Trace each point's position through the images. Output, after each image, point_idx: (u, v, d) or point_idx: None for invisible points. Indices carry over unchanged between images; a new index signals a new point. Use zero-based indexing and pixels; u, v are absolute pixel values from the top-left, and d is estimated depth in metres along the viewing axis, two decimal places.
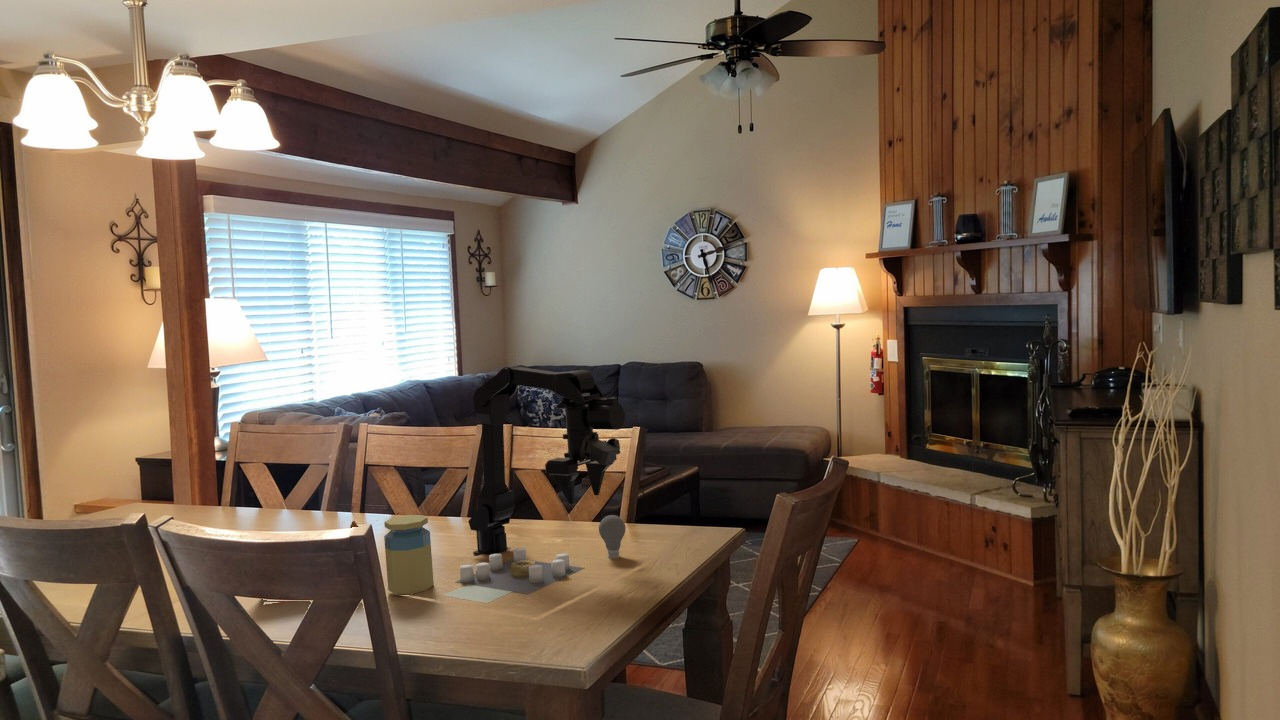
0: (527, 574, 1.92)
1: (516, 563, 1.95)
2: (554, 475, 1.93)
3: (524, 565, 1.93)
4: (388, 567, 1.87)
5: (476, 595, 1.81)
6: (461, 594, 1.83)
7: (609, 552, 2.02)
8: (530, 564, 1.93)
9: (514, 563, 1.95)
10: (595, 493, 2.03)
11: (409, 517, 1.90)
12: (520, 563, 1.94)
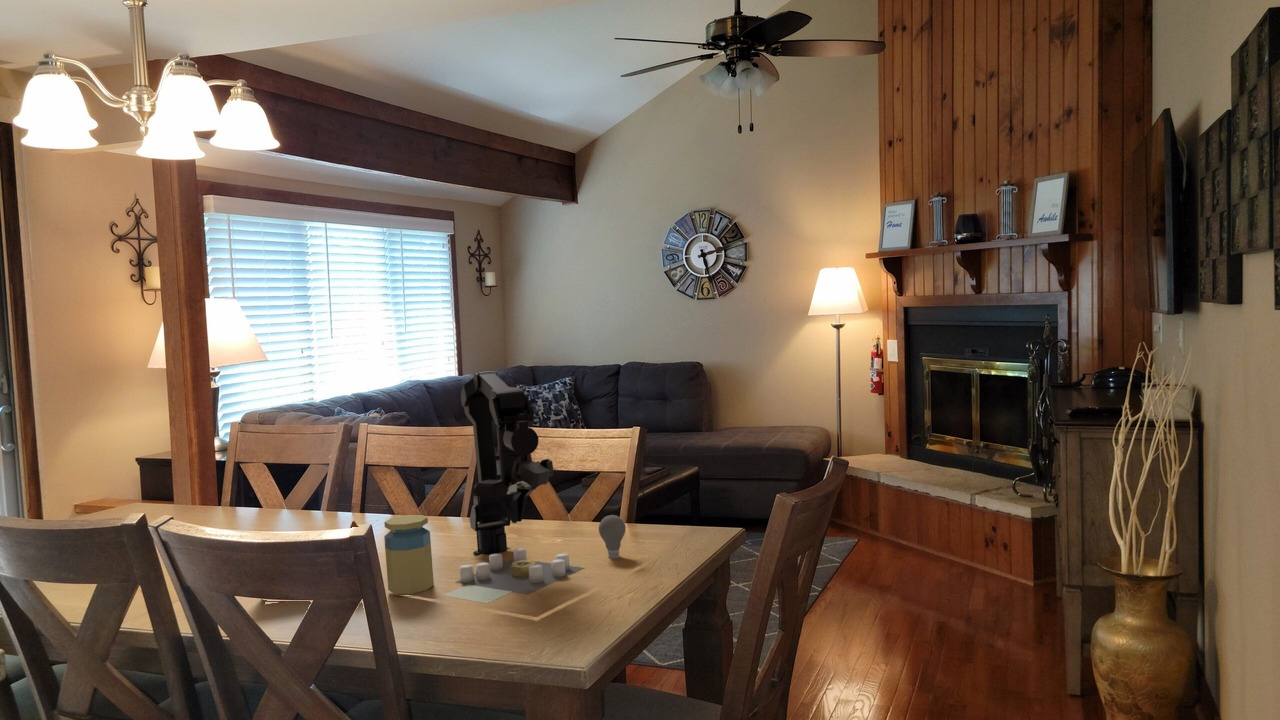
0: (527, 574, 1.92)
1: (516, 563, 1.95)
2: None
3: (524, 565, 1.93)
4: (388, 567, 1.87)
5: (476, 595, 1.81)
6: (461, 594, 1.83)
7: (609, 552, 2.02)
8: (530, 564, 1.93)
9: (514, 563, 1.95)
10: (517, 519, 1.93)
11: (409, 517, 1.90)
12: (520, 563, 1.94)
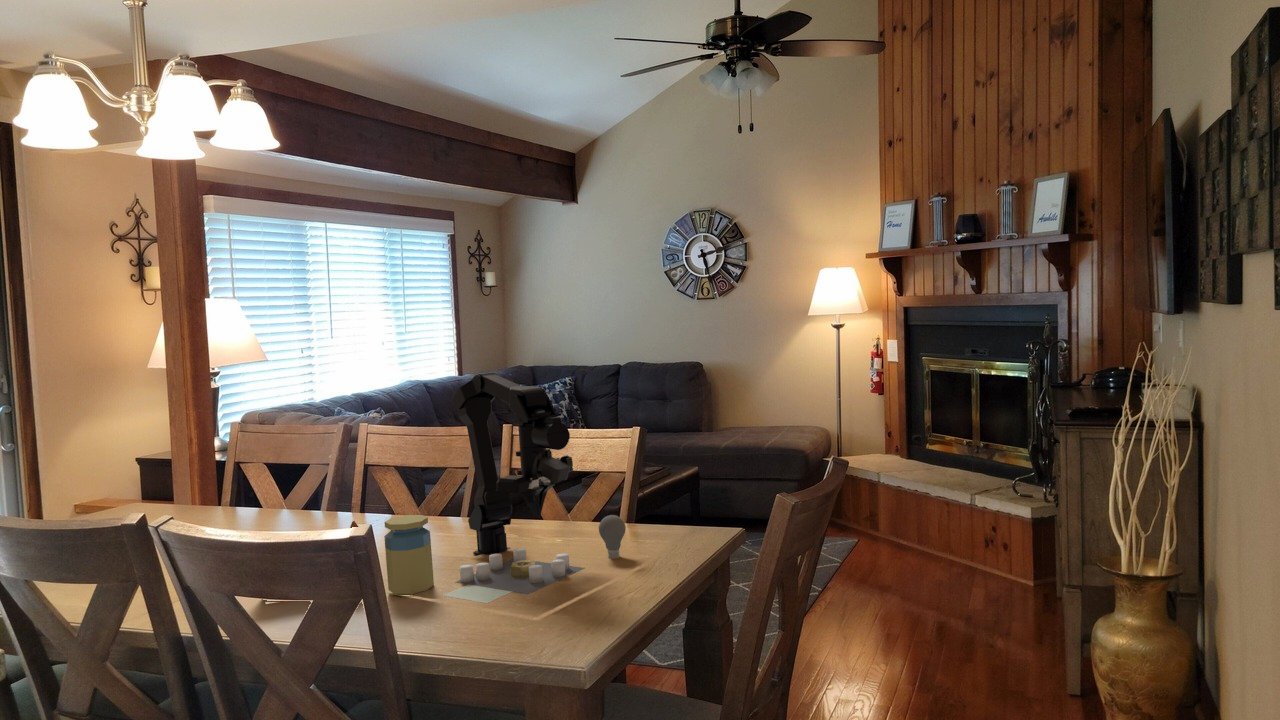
0: (527, 574, 1.92)
1: (516, 563, 1.95)
2: None
3: (524, 565, 1.93)
4: (388, 567, 1.87)
5: (476, 595, 1.81)
6: (461, 594, 1.83)
7: (609, 552, 2.02)
8: (530, 564, 1.93)
9: (514, 563, 1.95)
10: None
11: (409, 517, 1.90)
12: (520, 563, 1.94)
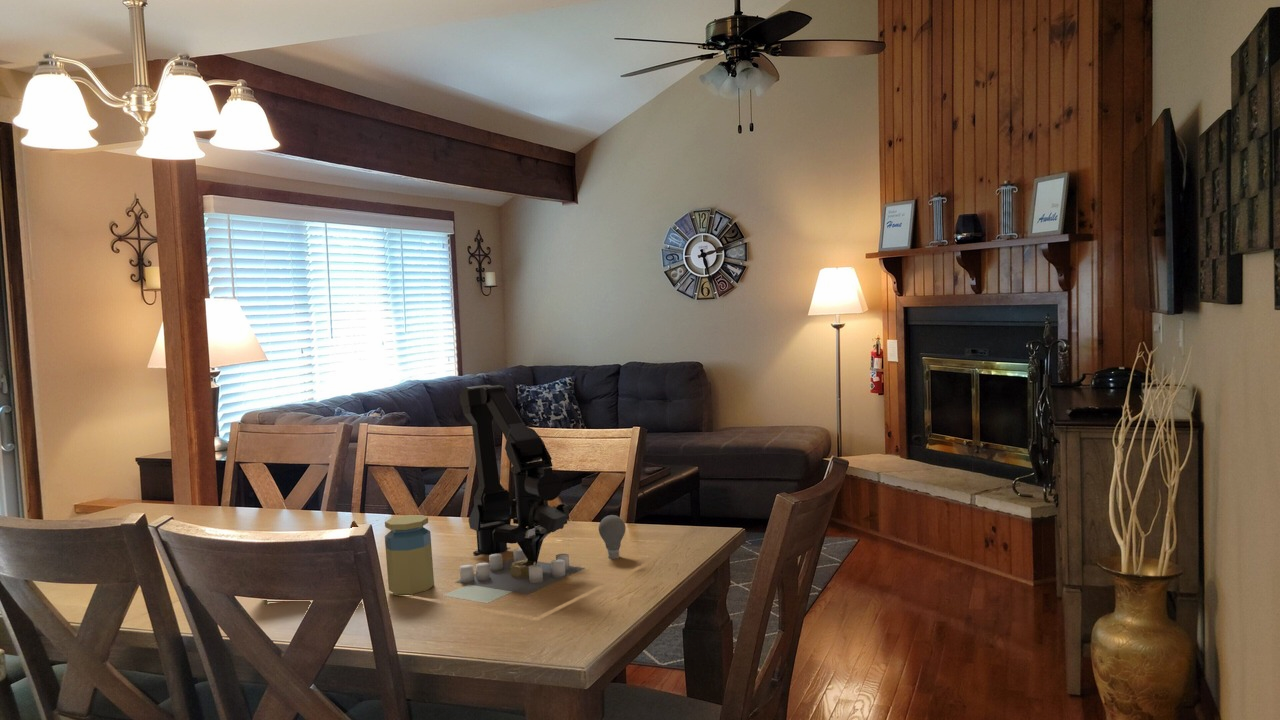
0: (527, 574, 1.92)
1: (516, 563, 1.95)
2: None
3: (524, 565, 1.93)
4: (388, 567, 1.87)
5: (476, 595, 1.81)
6: (461, 594, 1.83)
7: (609, 552, 2.02)
8: (530, 564, 1.93)
9: (514, 563, 1.95)
10: None
11: (409, 517, 1.90)
12: (520, 563, 1.94)
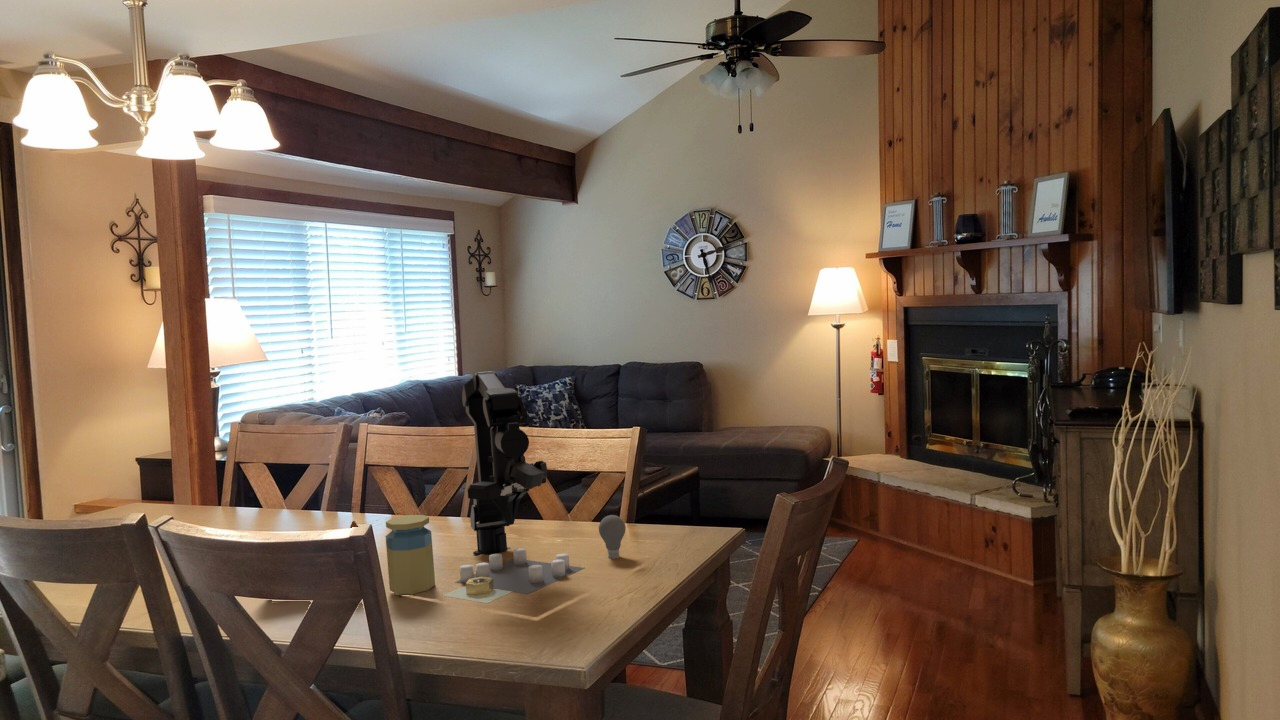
0: (482, 592, 1.82)
1: (472, 580, 1.84)
2: None
3: (480, 582, 1.82)
4: (389, 567, 1.87)
5: None
6: (461, 594, 1.83)
7: (609, 552, 2.02)
8: (486, 581, 1.83)
9: (471, 580, 1.84)
10: None
11: (410, 517, 1.90)
12: (476, 580, 1.84)
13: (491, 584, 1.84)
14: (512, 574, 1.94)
